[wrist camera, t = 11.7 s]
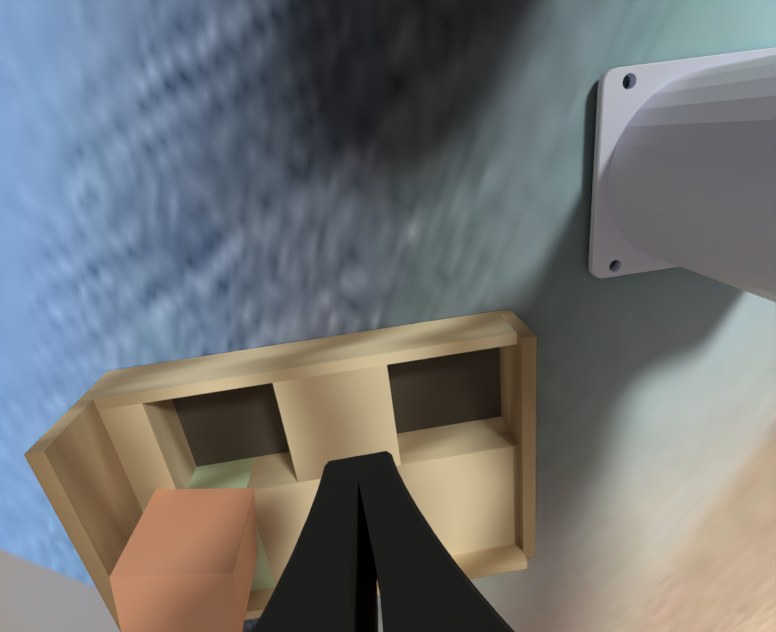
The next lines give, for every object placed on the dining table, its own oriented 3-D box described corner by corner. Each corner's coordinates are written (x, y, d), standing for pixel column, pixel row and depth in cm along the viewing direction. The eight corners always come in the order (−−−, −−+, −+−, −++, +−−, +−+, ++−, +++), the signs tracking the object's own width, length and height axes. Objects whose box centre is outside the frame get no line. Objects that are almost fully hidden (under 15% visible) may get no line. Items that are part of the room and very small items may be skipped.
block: (254, 488, 19) (233, 572, 15) (257, 556, 20) (238, 648, 17) (155, 489, 18) (109, 577, 15) (165, 559, 20) (126, 654, 16)
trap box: (510, 309, 20) (568, 366, 15) (513, 511, 24) (558, 607, 19) (107, 371, 19) (24, 454, 14) (189, 568, 23) (149, 684, 18)
